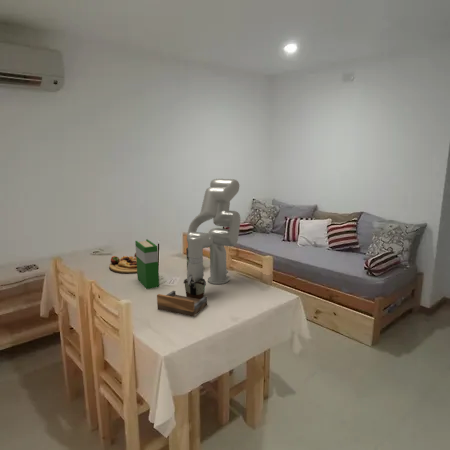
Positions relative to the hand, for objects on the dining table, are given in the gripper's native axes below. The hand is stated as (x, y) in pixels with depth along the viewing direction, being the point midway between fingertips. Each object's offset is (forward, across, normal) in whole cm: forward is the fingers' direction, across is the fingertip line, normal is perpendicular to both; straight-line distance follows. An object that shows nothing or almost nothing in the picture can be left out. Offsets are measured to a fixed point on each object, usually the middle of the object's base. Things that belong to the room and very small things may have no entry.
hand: (196, 292), depth 190 cm
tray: (+3, +14, 0) cm, 14 cm away
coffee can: (+3, -38, -23) cm, 45 cm away
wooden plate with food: (+3, -29, -64) cm, 70 cm away
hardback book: (+3, -6, -36) cm, 37 cm away
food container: (+3, -1, 0) cm, 3 cm away
